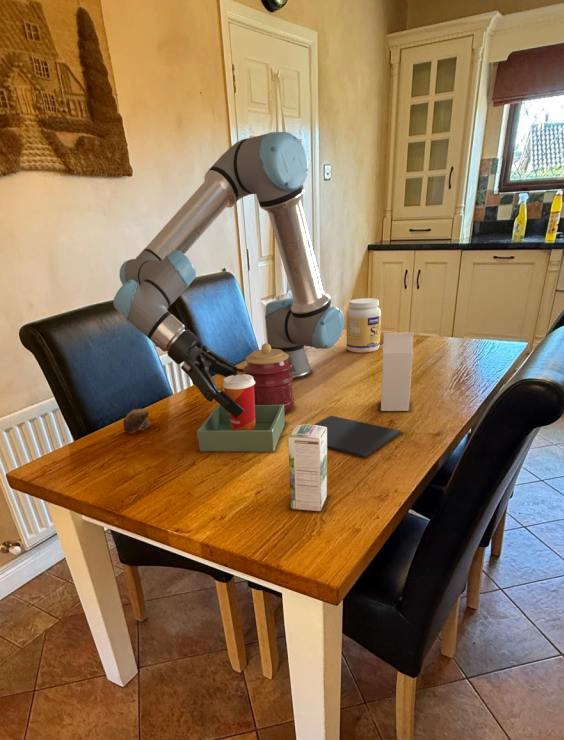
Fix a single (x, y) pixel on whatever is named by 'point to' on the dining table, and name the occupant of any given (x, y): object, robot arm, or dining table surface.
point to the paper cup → (242, 400)
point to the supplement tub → (363, 325)
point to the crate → (242, 431)
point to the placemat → (355, 436)
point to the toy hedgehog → (136, 420)
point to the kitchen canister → (271, 377)
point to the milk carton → (396, 371)
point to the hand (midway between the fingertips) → (246, 404)
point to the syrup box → (308, 467)
